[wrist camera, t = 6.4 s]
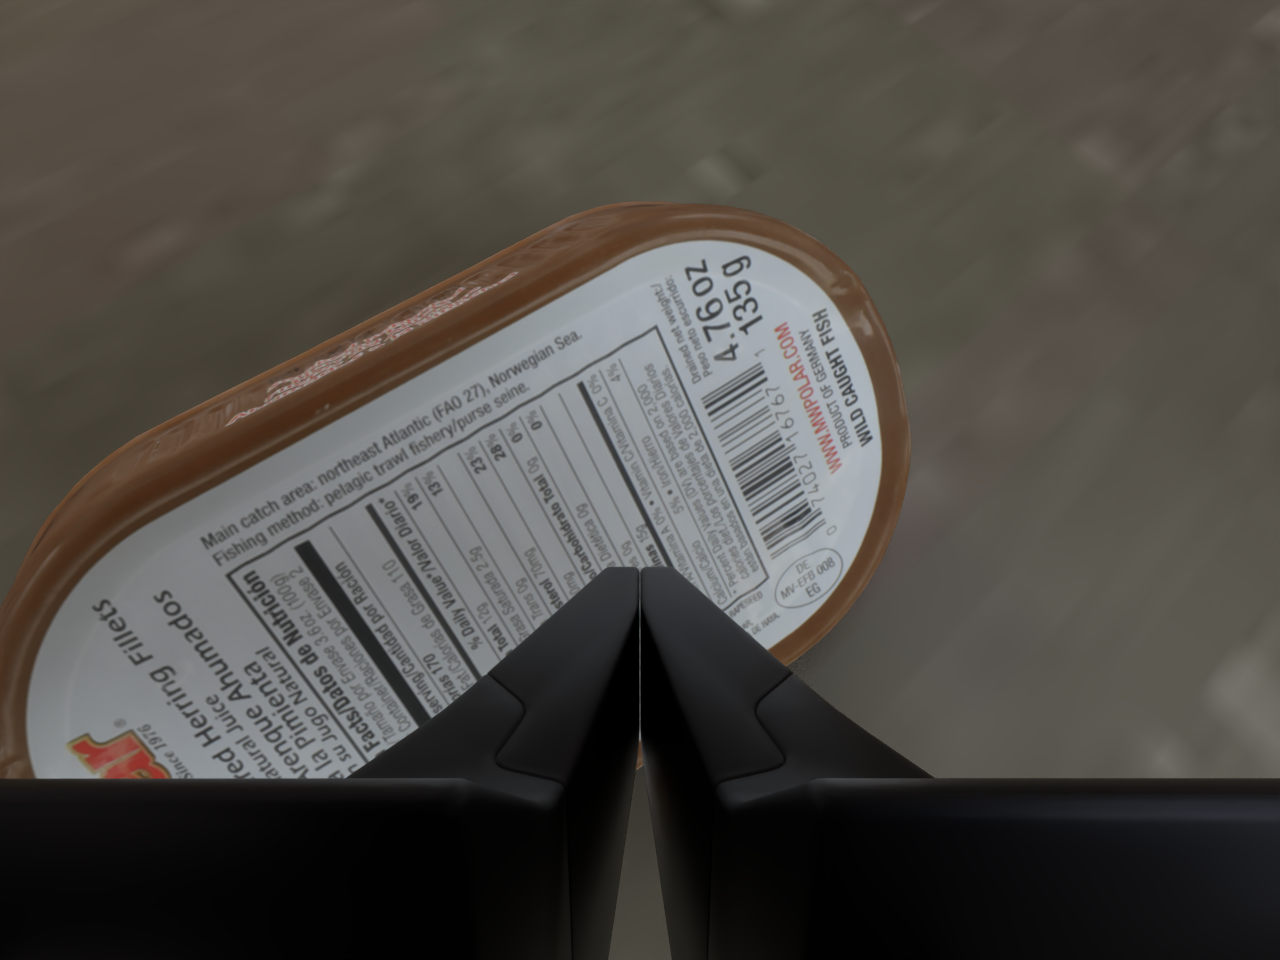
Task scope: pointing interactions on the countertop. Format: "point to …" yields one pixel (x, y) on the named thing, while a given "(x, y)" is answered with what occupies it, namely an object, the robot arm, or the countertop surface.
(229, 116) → the countertop surface
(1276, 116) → the countertop surface
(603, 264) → the tin
